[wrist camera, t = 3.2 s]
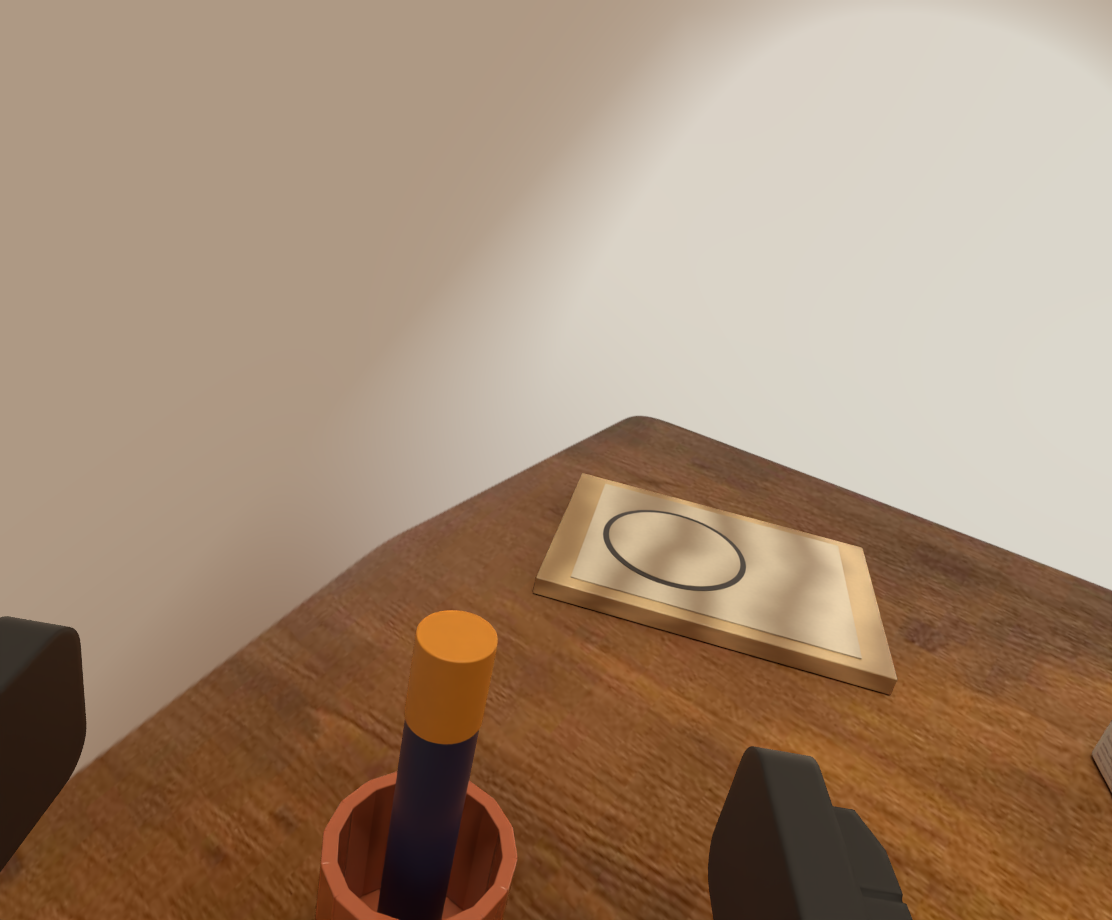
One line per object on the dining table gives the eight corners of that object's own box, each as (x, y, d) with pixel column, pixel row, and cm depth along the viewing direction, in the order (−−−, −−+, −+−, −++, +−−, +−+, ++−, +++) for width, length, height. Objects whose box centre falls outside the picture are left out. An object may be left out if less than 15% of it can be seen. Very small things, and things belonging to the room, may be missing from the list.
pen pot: (275, 1019, 27) (284, 897, 24) (357, 862, 32) (370, 748, 30) (457, 1084, 26) (485, 965, 23) (507, 912, 32) (535, 800, 29)
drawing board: (532, 593, 51) (536, 574, 50) (579, 486, 65) (582, 470, 65) (890, 695, 48) (899, 677, 48) (857, 560, 63) (863, 545, 62)
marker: (358, 972, 28) (403, 647, 22) (385, 912, 30) (432, 601, 24) (422, 994, 28) (485, 671, 22) (444, 933, 30) (507, 622, 24)
